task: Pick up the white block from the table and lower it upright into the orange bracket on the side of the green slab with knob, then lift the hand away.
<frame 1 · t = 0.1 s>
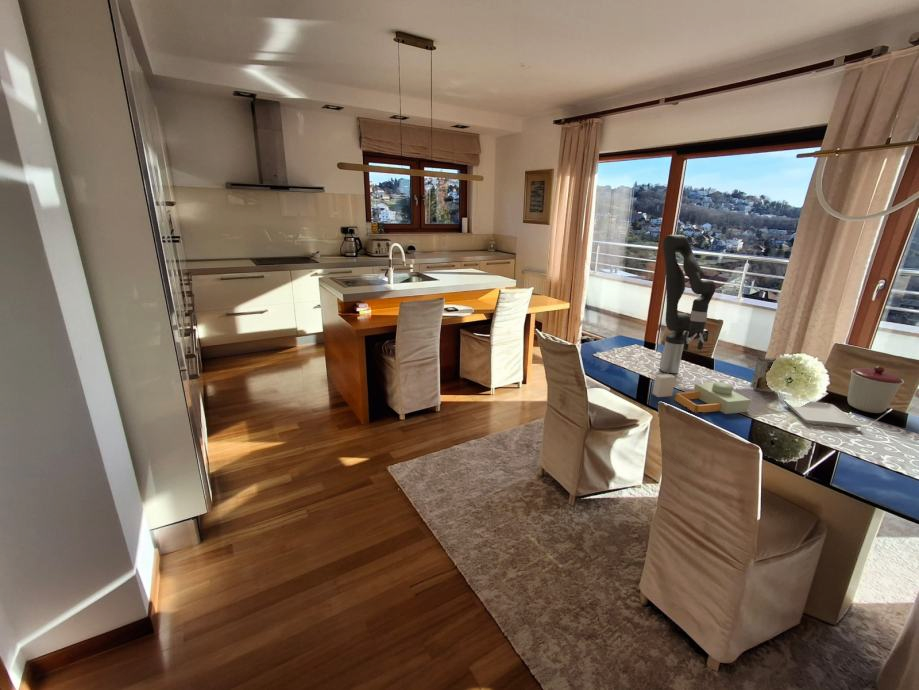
hand: (692, 349, 222), 17 cm above the table, tool pointing down, fingers open, 8 cm apart
canister: (864, 408, 201), on the table
coffee box: (762, 389, 219), on the table
salad plate: (817, 418, 191), on the table
white block: (662, 394, 209), on the table
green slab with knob: (718, 403, 202), on the table
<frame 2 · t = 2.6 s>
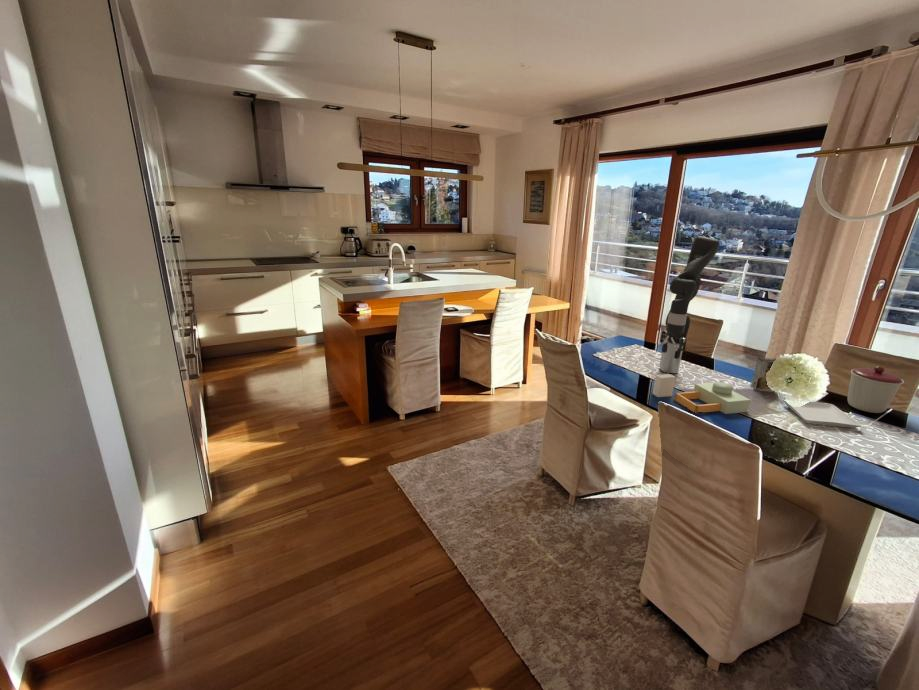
hand: (670, 355, 203), 21 cm above the table, tool pointing down, fingers open, 8 cm apart
nothing on the table moved.
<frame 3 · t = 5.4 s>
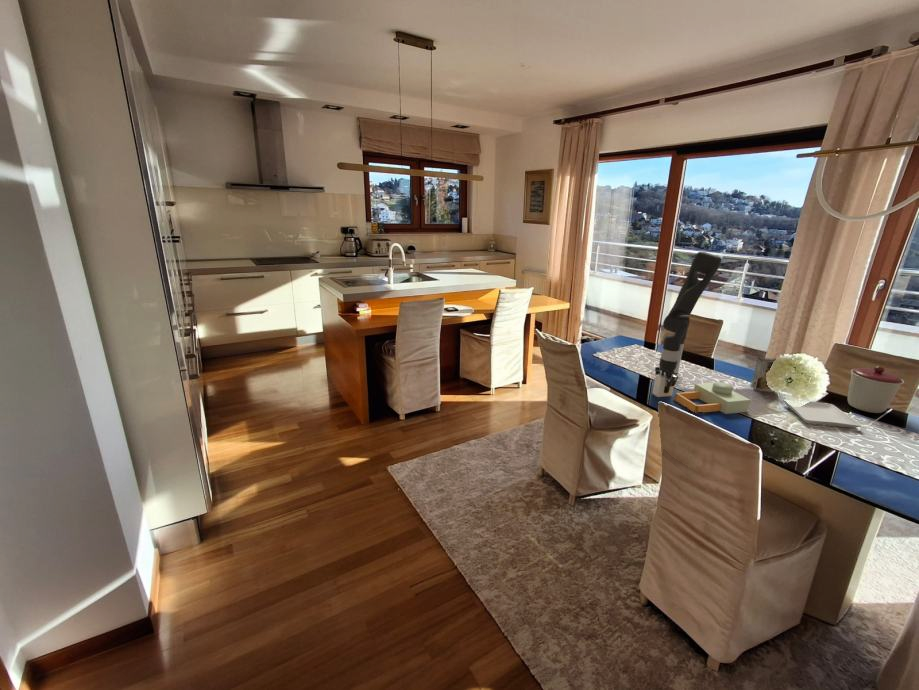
hand: (662, 390, 209), 2 cm above the table, tool pointing down, fingers closed on white block, 4 cm apart
white block: (662, 394, 210), on the table, touching gripper
everything else where it was.
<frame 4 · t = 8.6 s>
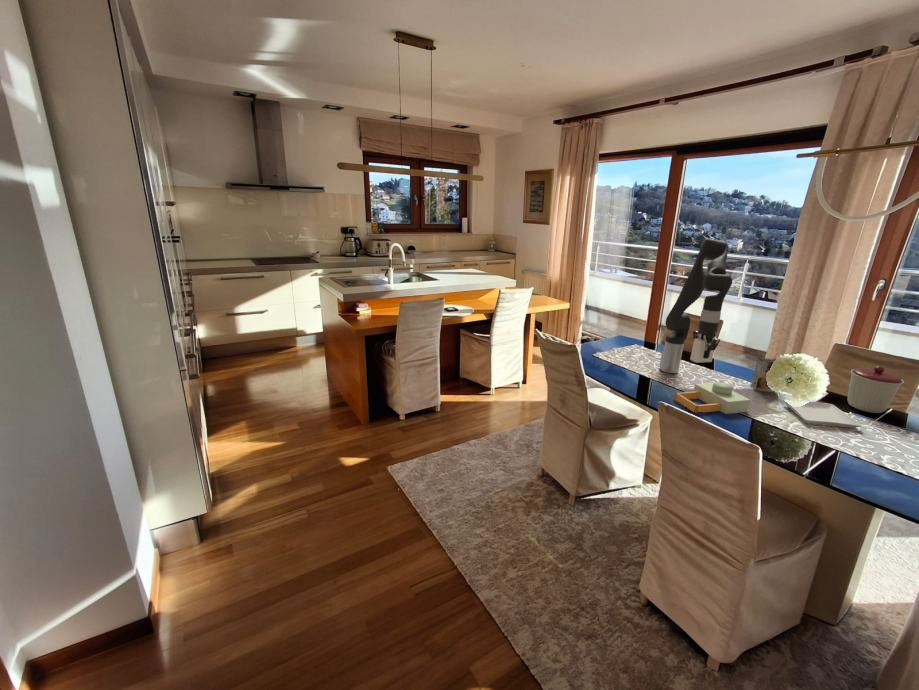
hand: (701, 356, 193), 24 cm above the table, tool pointing down, fingers closed on white block, 4 cm apart
white block: (700, 360, 194), point 22 cm above the table, touching gripper
everything else where it was.
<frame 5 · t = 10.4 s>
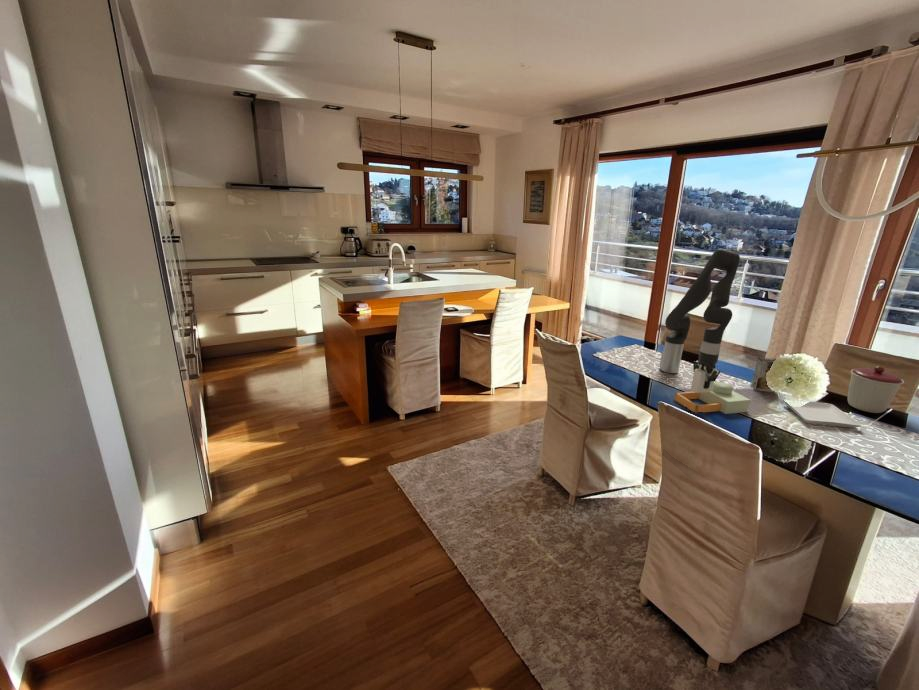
hand: (702, 386, 196), 10 cm above the table, tool pointing down, fingers closed on white block, 4 cm apart
white block: (701, 390, 197), point 8 cm above the table, touching gripper
everything else where it was.
when the fingers open (3 cm above the table, at t = 12.1 s): white block drops 1 cm, resting in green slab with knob.
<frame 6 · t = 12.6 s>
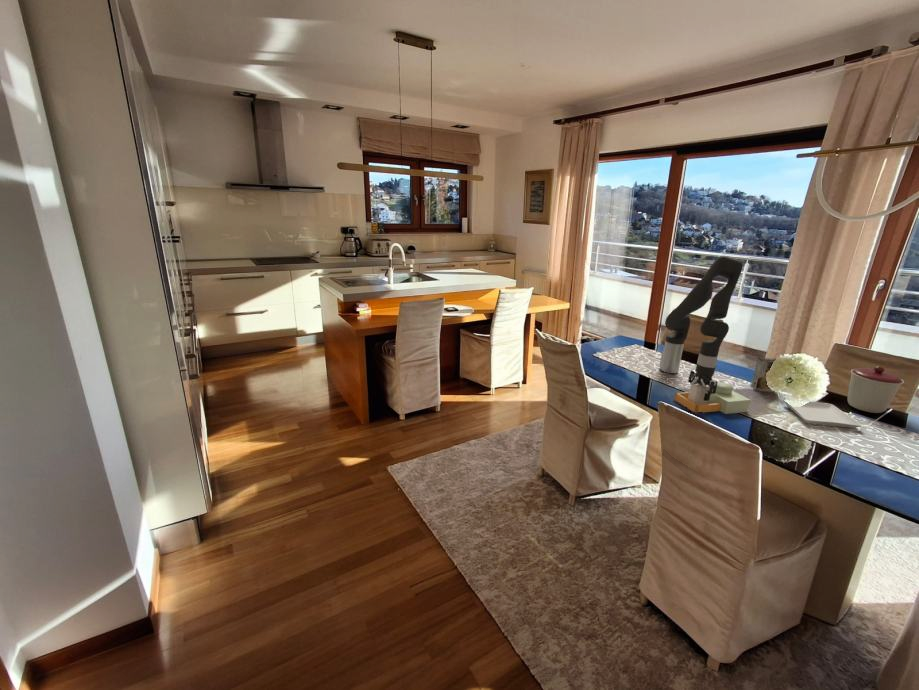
hand: (699, 396, 198), 4 cm above the table, tool pointing down, fingers open, 8 cm apart
white block: (697, 405, 200), resting in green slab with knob
everything else where it was.
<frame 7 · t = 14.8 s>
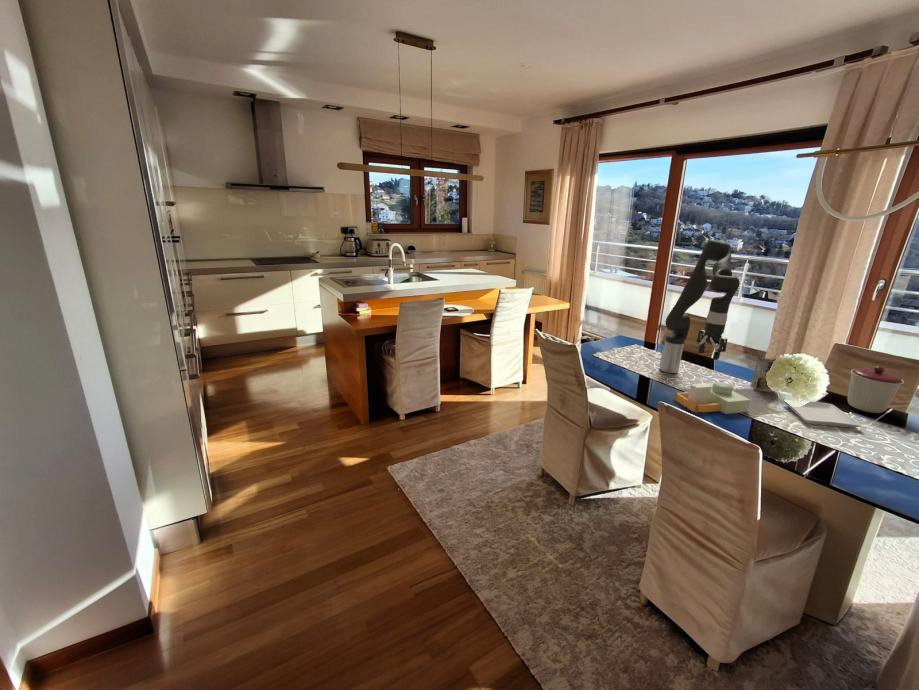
hand: (708, 356, 192), 24 cm above the table, tool pointing down, fingers open, 8 cm apart
nothing on the table moved.
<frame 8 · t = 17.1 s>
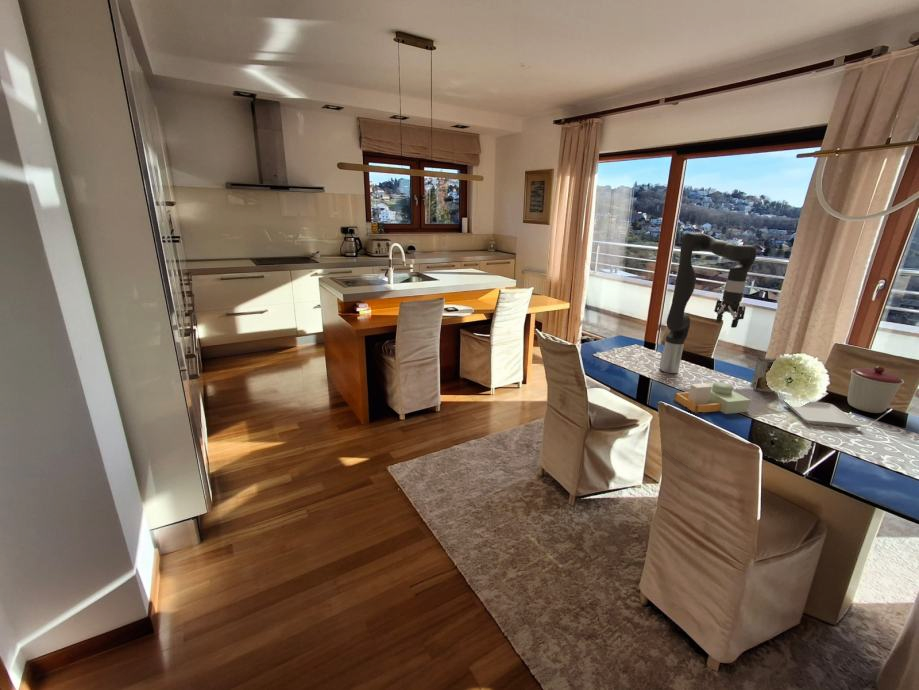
hand: (726, 324, 198), 36 cm above the table, tool pointing down, fingers open, 8 cm apart
nothing on the table moved.
at the end: white block inside the target area on the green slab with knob (0.3 cm from its centre), point 0.0 cm above the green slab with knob's base; white block tilted 0°; the gripper is holding nothing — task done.
